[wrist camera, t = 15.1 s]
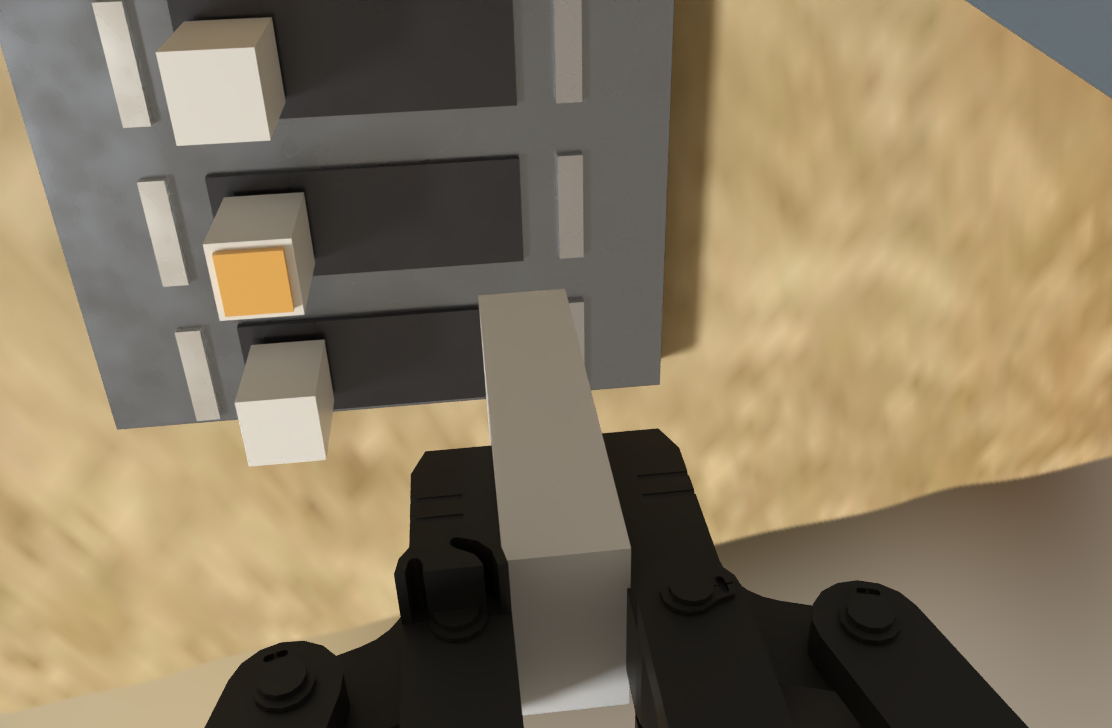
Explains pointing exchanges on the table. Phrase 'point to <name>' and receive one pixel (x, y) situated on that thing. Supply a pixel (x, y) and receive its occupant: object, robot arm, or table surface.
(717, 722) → the robot arm
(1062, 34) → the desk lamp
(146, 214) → the panel
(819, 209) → the table surface
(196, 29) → the block
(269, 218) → the block
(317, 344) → the block
